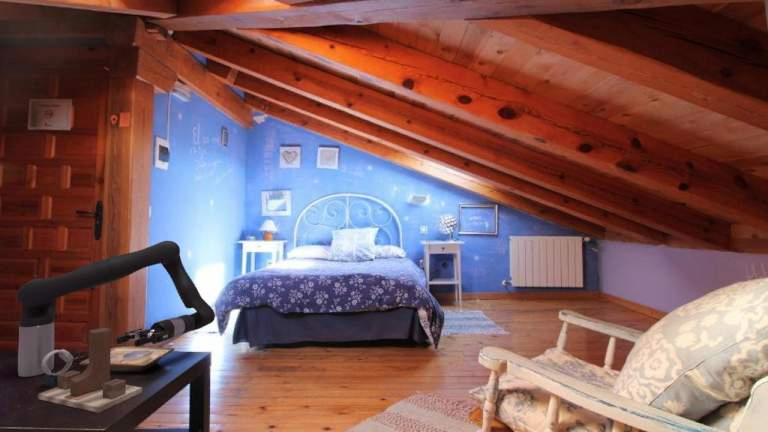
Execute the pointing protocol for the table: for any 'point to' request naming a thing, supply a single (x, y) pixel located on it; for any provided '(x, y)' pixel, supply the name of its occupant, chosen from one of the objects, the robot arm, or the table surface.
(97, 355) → the wooden block
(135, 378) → the table surface
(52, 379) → the watch
